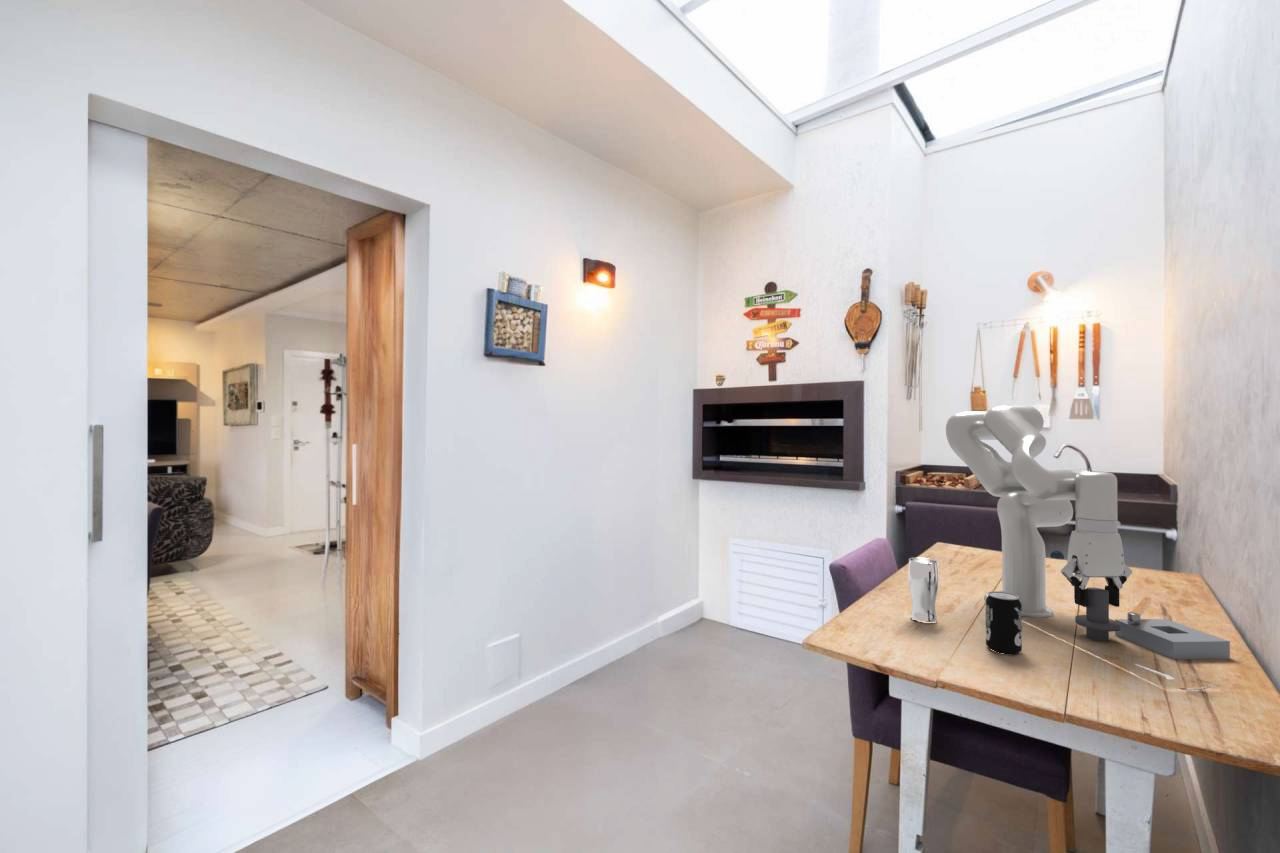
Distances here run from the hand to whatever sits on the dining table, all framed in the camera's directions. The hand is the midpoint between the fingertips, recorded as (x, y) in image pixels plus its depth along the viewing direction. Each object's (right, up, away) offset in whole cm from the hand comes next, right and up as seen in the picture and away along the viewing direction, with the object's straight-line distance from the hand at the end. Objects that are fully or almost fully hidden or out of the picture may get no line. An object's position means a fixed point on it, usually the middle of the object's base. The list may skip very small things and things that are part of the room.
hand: (1096, 604), depth 130 cm
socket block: (+12, -8, -5) cm, 15 cm away
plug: (0, -8, 0) cm, 8 cm away
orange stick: (+14, -4, +4) cm, 15 cm away
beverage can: (-25, -8, -6) cm, 27 cm away
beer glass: (-32, -8, +14) cm, 36 cm away
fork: (-3, -9, -17) cm, 20 cm away
